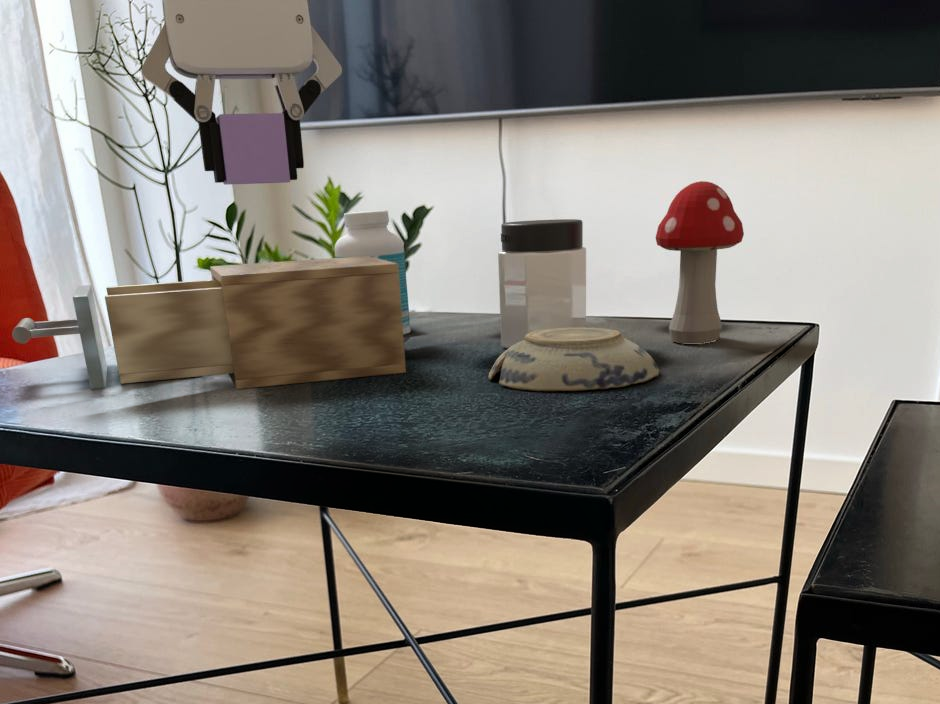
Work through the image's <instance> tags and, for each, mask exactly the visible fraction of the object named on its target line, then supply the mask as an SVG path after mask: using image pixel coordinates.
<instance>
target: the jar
mask: <svg viewBox="0 0 940 704" xmlns="http://www.w3.org/2000/svg"><path fill="white" fill-rule="evenodd" d="M583 225H584V224H583V219H576V218H573V219H572V218H571V219H570V218H569V219H568V218H565V219H563V218H562V219H559V218H558V219H537V220H535V219H534V220H518V221H508V222H503V223H502V224H501V226H500V229H501V231H500V232H501V233H500V242H501V251H498V253H497V262H498V291H499V292H498V293H499V322H500V323H499V324H500V326H499V327H500V346H501V348H502V349H506V350H507V349H508V348H510V347H511V346H513V345H515V344H516V343H518V342H520V341H522V340H524V337H525V335H526V334H528V333H530V332H534V331H539V330H545V329H555V328H575V327H586V328H587V247H585V246H584V245H583V243H584V241H583V237H584V236H583V232H584V231H583V228H584V227H583Z"/></svg>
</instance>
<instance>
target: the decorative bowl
mask: <svg viewBox="0 0 940 704" xmlns="http://www.w3.org/2000/svg"><path fill="white" fill-rule="evenodd" d="M499 370H501V371H500V375H499V376H500V378H499V381H498V385H500V386H504V387H506V388H508V389H509V388H510V389H515V390H520V391H521V390H522V391H532V392H538V393H539V392H560V391H561V392H566V391H568V392H578V391H580V392H582V391H590V390H593V391H595V390H599V389H600V390H607V389H610V388H611V389H613V388H624V387H627V386H631V385H637V384H641V383H645V382H648V381H651V380H652V379H653V378H657V377H658V376H659V374H660V370H659V366H658V365H657V362H655V360H654V358H653V357H652V356H651V354H649V353H648V352H647V351H646V350H645V349H644V348H643V347H642V346H640V345H638V344H637V343H635V342H634V341H632V340H630V339H627V338H625V337H622V333H621V332H620V331H618V330H615V329H611V328H603V327H587V326H586V327H575V328H555V329H545V330H539V331H534V332H530V333H528V334H526V335H525V337H524V340H522V341H520V342H518V343H516V344H515V345H513V346H511V347H510V348H508V349H506V350H505V351H503V352H502V353H500V355H499V356H498V357H497V359H496V360H495V361H494V364H493V365H492V367H491V369H490V370H489V373H488V376H487V377H488V380H489V381H492V379H493V378H494V377H495V375H496V374H497V372H498V371H499Z"/></svg>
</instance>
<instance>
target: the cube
mask: <svg viewBox="0 0 940 704" xmlns="http://www.w3.org/2000/svg"><path fill="white" fill-rule="evenodd" d="M216 122H217V124H219V125H220V132H221V140H222V148H223V156H224V164H225V172H226V180H225V181H224V182H222V183H223V185H252V184H254V185H255V184H256V185H257V184H284V183H291V180H290V174H289V164H288V154H287V143H286V133H285V123H284V114H283V113H282V112H272V113H270V112H269V113H265V112H264V113H220V114H219V115H216Z"/></svg>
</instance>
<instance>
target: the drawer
mask: <svg viewBox="0 0 940 704" xmlns="http://www.w3.org/2000/svg"><path fill="white" fill-rule="evenodd" d="M105 289H106V294H107V295H105V296H104V301H105V306H106V311H107V317H108V323H109V329H110V334H111V339H112V344H113V348H114V353H115V360H116V365H117V371H118V375H119V382H120V384H122V385H123V384H133V383H145V382H155V381H165V380H176V379H187V378H198V377H207V376H219V375H229V374H231V373H234V370H233V362H232V355H231V348H230V341H229V334H228V327H227V320H226V313H225V306H224V299H223V292H222V284H221V283H220V282H218V281H217V280H216V279H213V280H212V279H201V280H198V279H197V280H186V281H185V280H183V281H173V282H172V281H171V282H158V283H155V282H154V283H143V284H128V285H115V286H106V288H105ZM72 302H73V306H74V312H75V317H76V318H71V319H70V318H69V319H58V320H57V319H56V320H44V321H35V320H33V319H32V318H30V317H25V318H22V319H20V321H19V322H18V324H17V325H16V326H15V327H14V328H13V330H12V333H11V335H12V338H13V340H14V341H15V342H16V343H18V344H21V345H22V344H27V343H28V342H29V341H30V340H31V338H32V339H34V338H46V337H58V336H69V335H70V336H71V335H79V337H80V341H81V346H82V351H83V356H84V362H85V366H86V367H85V368H86V371H87V377H88V382H89V387H90V389H91V390H95V389H104V388H106V386H107V377H108V376H107V374H108V365H107V360H106V354H105V349H104V342H103V338H102V334H101V332H102V331H101V328H100V323H99V318H98V317H99V316H98V312H97V307H96V301H95V296H94V291H93V286H92V285H91V284H87V285H78V286H77V288H76V290H75V292H74V294H73V295H72Z"/></svg>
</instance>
